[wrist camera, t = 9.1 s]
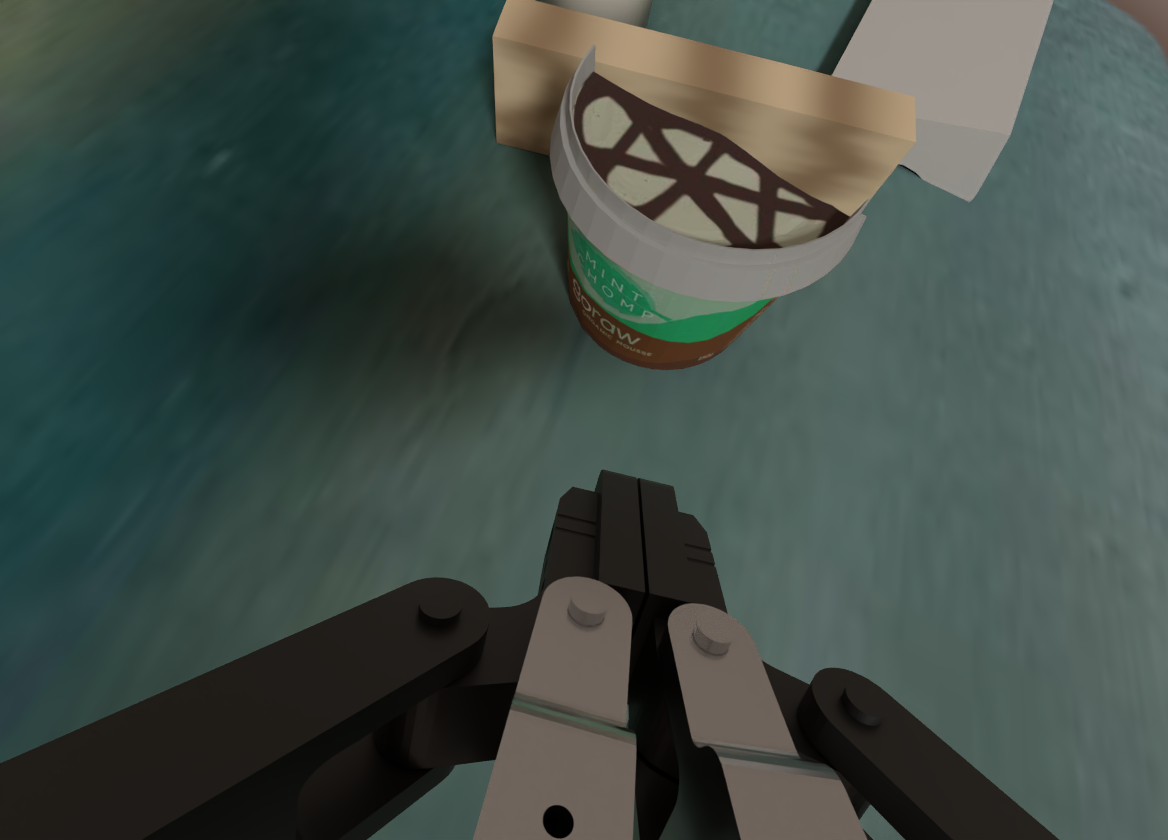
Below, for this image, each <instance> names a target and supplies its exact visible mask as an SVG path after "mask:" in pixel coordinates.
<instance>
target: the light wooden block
mask: <svg viewBox="0 0 1168 840" xmlns="http://www.w3.org/2000/svg"><path fill="white" fill-rule="evenodd" d="M593 45H596V50H595V73H597V74H599V75H600V76H602V77H604V78H605V79H607V80H609V81H611V82H612V83H614V84H616V85H617V86H619V87H621V88H622V89H624V90H626V91H628V92H629V93H631V94H633V95H635V96H637V97H638V98H640V99H642V100H644V101H645V102H647V103H649V104H651V105H653V106H656V107H658V108H660V109H662V110H665V111H667V112H669V113H671V114H674V115H676V116H679V117H682V118H684V119H687V120H690V121H692V122H695V123H697V124H700V125H702V126H704V127H707V128H709V129H711V130H713V131H716V132H718V133H720V134H722V135H723V136H725V137H727V138H728V139H729V140H731V141H732V142H734V143H735V144H737V145H738V146H739V147H741V148H742V149H744V150H745V151H746V152H748V153H749V154H750V155H751V156H753V157H754V158H755V159H757V160H758V161H759V162H761V163H762V164H763V165H764V166H766V167H767V168H768V169H770V170H771V171H772V172H773V173H775V174H776V175H777V176H779V177H780V178H782V179H784V180H785V181H787V182H789V183H790V184H792V185H794V186H795V187H797V188H798V189H800V190H802V191H803V192H805V193H807V194H808V195H810V196H812V197H814V198H816V199H818V200H821V201H823V202H825V203H828V204H830V205H832V206H834V207H835V208H837V209H838V210H839V211H841V212H843V213H845V214H846V215H848V216H851V215H852V214H853V213H854V212H855V211H856V210H857V209H858V208H859V207H860V206H861V205H862V204H863V203H864V202H865V201H866V200H867V199H871V198H872V196H873V195H874V194H875V193H876V192H877V190H878V189H879V188H880V187H881V185H882V184H883V183H884V182H885V180H886V179H887V178H888V177H889V175H890V174H891V173H892V172H893V170H894V169H895V168H896V167H897V165H898V164H899V163H900V162H901V160H902V159H903V158H904V157H905V155H906V154H907V153H908V152H909V150H910V149H911V148H912V147H913V145H914V144H915V143H916V115H915V97H913V96H909V95H905V94H902V93H898V92H894V91H890V90H886V89H882V88H878V87H874V86H870V85H866V84H862V83H858V82H854V81H850V80H846V79H842V78H838V77H834V76H831V75H827V74H823V73H819V72H815V71H811V70H807V69H803V68H799V67H795V66H791V65H787V64H783V63H779V62H775V61H771V60H767V59H763V58H759V57H756V56H752V55H748V54H744V53H740V52H736V51H732V50H728V49H724V48H720V47H716V46H712V45H708V44H704V43H700V42H696V41H692V40H688V39H685V38H681V37H677V36H673V35H669V34H665V33H661V32H657V31H653V30H649V29H645V28H641V27H637V26H633V25H629V24H625V23H621V22H617V21H614V20H610V19H606V18H602V17H598V16H594V15H590V14H586V13H582V12H578V11H574V10H570V9H566V8H562V7H558V6H554V5H550V4H546V3H543V2H539V1H535V0H507V1H506V3H505V6H504V8H503V11H502V13H501V16H500V18H499V21H498V24H497V26H496V29H495V31H494V34H493V58H494V85H495V112H496V139H497V143H500V144H504V145H508V146H512V147H516V148H520V149H524V150H528V151H532V152H536V153H540V154H544V155H548V156H550V144H551V135H552V131H553V128H554V124H555V120H556V117H557V114H558V111H559V108H560V105H561V102H562V99H563V95H564V92H565V89H566V87H567V85H568V83H569V81H570V79H571V77H572V75H573V74H574V72H575V70H576V69H577V68H578V66H579V64H580V63H581V61H582V59H583V57H584V56H585V54H586V53H587V52H588V51H589V50H590V48H591V47H592V46H593Z"/></svg>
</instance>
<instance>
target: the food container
mask: <svg viewBox="0 0 1168 840" xmlns="http://www.w3.org/2000/svg"><path fill="white" fill-rule="evenodd" d="M595 50H596V45H593V46H592V47H591V48H590V50H589V51H588V52H587V53H586V54H585V56H584V57H583V59H582V61H581V63H580V64H579V66H578V68H577V69H576V70H575V72H574V74H573V75H572V77H571V79H570V81H569V83H568V85H567V87H566V89H565V92H564V95H563V99H562V102H561V105H560V108H559V111H558V114H557V117H556V120H555V124H554V128H553V131H552V135H551V144H550V162H551V169H552V176H553V180H554V183H555V185H556V188H557V191H558V194H559V197H560V199H561V201H562V203H563V205H564V206H565V208H566V210H567V219H568V283H569V293H570V302H571V305H572V307H573V310H574V312H575V314H576V316H577V318H578V320H579V322H580V324H581V326H582V328H583V329H584V330H585V331H586V332H587V334H588V335H589V336H590V337H591V338H592V339H593V340H594V341H595V342H596V343H597V344H598V345H599V346H600V347H602V348H603V349H604V350H606V351H607V352H608V353H610V354H611V355H613V356H615V357H617V358H619V359H621V360H623V361H625V362H628V363H631V364H633V365H636V366H640V367H645V368H650V369H659V370H674V369H684V368H687V367H691V366H695V365H698V364H701V363H703V362H705V361H708V360H710V359H712V358H713V357H715V356H716V355H718V354H719V353H721V352H722V351H723V350H724V349H726V348H727V347H728V346H729V345H730V344H731V343H732V342H733V341H734V340H735V339H736V338H737V337H738V336H739V335H740V334H741V333H742V332H743V331H744V330H745V329H746V328H747V327H748V326H749V325H750V324H751V323H752V322H753V321H754V320H756V319H757V318H758V317H759V316H760V315H761V314H762V313H763V312H764V311H765V310H766V309H767V308H768V307H769V306H770V305H771V304H772V303H773V302H774V301H775V300H776V299H777V298H778V297H779V296H783V295H786V294H789V293H791V292H794V291H797V290H799V289H802V288H804V287H807V286H808V285H810V284H812V283H813V282H815V281H816V280H818V279H820V278H821V277H823V276H825V275H826V274H827V273H828V272H829V271H830V270H832V269H833V268H834V267H835V266H836V265H837V264H838V263H839V262H840V261H841V260H842V259H843V257H844V256H845V255H846V253H847V252H848V251H849V249H850V248H851V246H852V245H853V243H854V241H855V239H856V237H857V235H858V233H859V231H860V229H861V227H862V225H863V223H864V221H865V219H866V217H867V216H865V215H863V214H861V212H862V211H863V210H864V208H865V207H866V205H867V204H868V202H869V201H870V199H867V200H866V201H865V202H864V203H863V204H862V205H861V206H860V207H859V208H858V209H857V210H856V211H855V212H854V213H853V214H852V215H851V216H848V215H846V214H845V213H843V212H841V211H839V210H838V209H837V208H835V207H834V206H832V205H830V204H828V203H825V202H823V201H821V200H818V199H816V198H814V197H812V196H810V195H808V194H807V193H805V192H803V191H802V190H800V189H798V188H797V187H795V186H794V185H792V184H790V183H789V182H787V181H785V180H784V179H782V178H780V177H779V176H777V175H776V174H775V173H773V172H772V171H771V170H770V169H768V168H767V167H766V166H764V165H763V164H762V163H761V162H759V161H758V160H757V159H755V158H754V157H753V156H751V155H750V154H749V153H748V152H746V151H745V150H744V149H742V148H741V147H739V146H738V145H737V144H735V143H734V142H732V141H731V140H729V139H728V138H727V137H725V136H723V135H722V134H720V133H718V132H716V131H713V130H711V129H709V128H707V127H704V126H702V125H700V124H697V123H695V122H692V121H690V120H687V119H684V118H682V117H679V116H676V115H674V114H671V113H669V112H667V111H665V110H662V109H660V108H658V107H656V106H653V105H651V104H649V103H647V102H645V101H644V100H642V99H640V98H638V97H637V96H635V95H633V94H631V93H629V92H628V91H626V90H624V89H622V88H621V87H619V86H617V85H616V84H614V83H612V82H611V81H609V80H607V79H605V78H604V77H602V76H600V75H599V74H597V73H595Z"/></svg>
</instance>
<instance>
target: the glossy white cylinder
mask: <svg viewBox="0 0 1168 840" xmlns="http://www.w3.org/2000/svg"><path fill="white" fill-rule="evenodd" d="M538 1H539V2H543V3H546V4H550V5H554V6H558V7H562V8H566V9H570V10H574V11H578V12H582V13H586V14H590V15H594V16H598V17H602V18H606V19H610V20H614V21H617V22H621V23H625V24H629V25H633V26H637V27H641V28H645V29H646V27H647V24H648V19H649V15H650V10H651V5H652V1H653V0H538Z"/></svg>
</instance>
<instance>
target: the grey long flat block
mask: <svg viewBox="0 0 1168 840" xmlns="http://www.w3.org/2000/svg"><path fill="white" fill-rule="evenodd" d="M1052 4H1053V0H872V1H871V3H870V5H869V7H868V9H867V11H866V13H865V15H864V16H863V18H862V20H861V22H860V24H859V26H858V28H857V29H856V31H855V33H854V35H853V37H852V39H851V41H850V42H849V44H848V46H847V48H846V50H845V52H844V54H843V56H842V57H841V59H840V61H839V63H838V65H837V67H836V69H835V70H834V72H833V74H832V76H834V77H838V78H842V79H846V80H850V81H854V82H858V83H862V84H866V85H870V86H874V87H878V88H882V89H886V90H890V91H894V92H898V93H902V94H905V95H909V96H913V97H915V115H916V143H915V144H914V145H913V147H912V148H911V149H910V150H909V152H908V153H907V154H906V155H905V157H904V158H903V159H902V160H901V162H900V163H899V164H900V165H904V166H906V167H908V168H909V169H911V170H912V171H914V172H916V173H917V174H918V175H919V176H920V177H921V178H922V179H923V180H925V181H927V182H929V183H931V184H933V185H935V186H937V187H939V188H941V189H943V190H945V191H948V192H950V193H952V194H954V195H956V196H958V197H960V198H962V199H964V200H966V201H968V202H969V201H971V200H972V199H973V198H974V197H975V196H976V194H977V193H978V191H979V189H980V187H981V186H982V184H983V182H984V180H985V179H986V177H987V175H988V173H989V172H990V170H991V168H992V166H993V164H994V163H995V161H996V159H997V157H998V156H999V154H1000V152H1001V150H1002V149H1003V147H1004V145H1005V143H1006V142H1007V140H1008V138H1009V136H1010V135H1011V131H1012V128H1013V125H1014V122H1015V119H1016V116H1017V113H1018V110H1019V106H1020V103H1021V100H1022V97H1023V94H1024V91H1025V88H1026V85H1027V82H1028V78H1029V75H1030V72H1031V69H1032V66H1033V63H1034V60H1035V57H1036V53H1037V50H1038V47H1039V44H1040V41H1041V38H1042V35H1043V32H1044V29H1045V25H1046V22H1047V19H1048V16H1049V13H1050V10H1051V7H1052Z"/></svg>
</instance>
